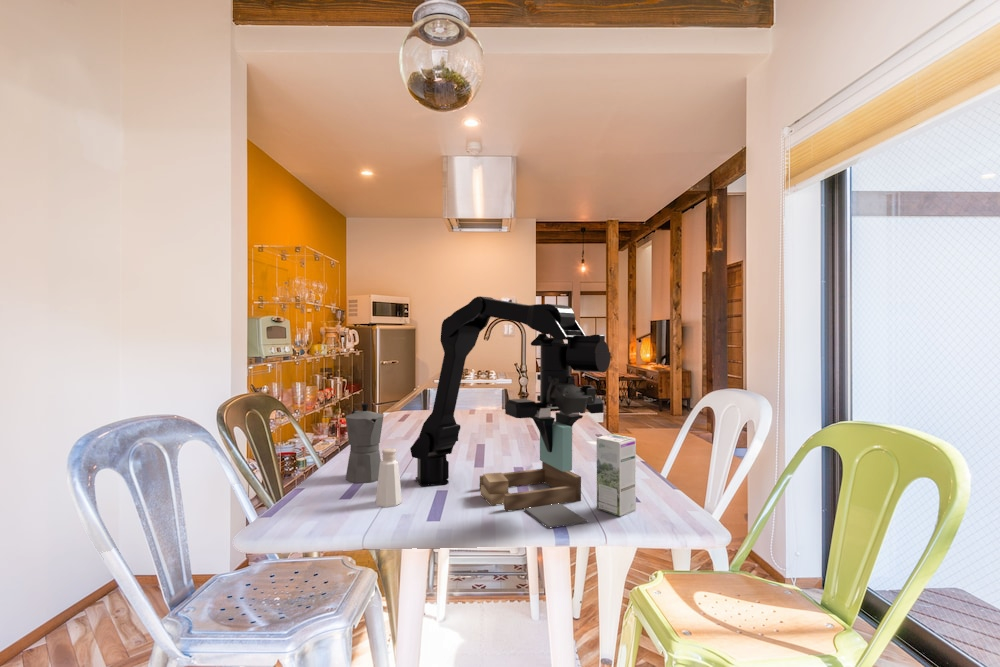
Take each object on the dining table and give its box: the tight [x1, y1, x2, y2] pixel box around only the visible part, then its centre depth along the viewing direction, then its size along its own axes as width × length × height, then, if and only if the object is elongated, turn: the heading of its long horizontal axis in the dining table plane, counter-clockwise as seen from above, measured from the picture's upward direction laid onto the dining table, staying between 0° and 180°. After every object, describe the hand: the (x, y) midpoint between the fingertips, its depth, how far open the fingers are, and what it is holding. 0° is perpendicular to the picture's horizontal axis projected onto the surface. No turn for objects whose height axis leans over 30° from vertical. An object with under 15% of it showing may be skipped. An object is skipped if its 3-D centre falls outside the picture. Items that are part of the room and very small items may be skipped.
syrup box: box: [596, 433, 637, 517], centre depth 99 cm, size 6×6×14 cm
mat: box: [524, 503, 588, 529], centre depth 95 cm, size 8×10×1 cm
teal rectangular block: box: [539, 420, 573, 472], centre depth 95 cm, size 2×9×8 cm, turn 23°
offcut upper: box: [483, 472, 509, 494], centre depth 105 cm, size 4×6×2 cm, turn 13°
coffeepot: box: [345, 402, 384, 484], centre depth 121 cm, size 15×9×18 cm, turn 35°
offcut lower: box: [480, 485, 511, 506], centre depth 105 cm, size 4×7×2 cm, turn 21°
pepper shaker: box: [375, 447, 403, 508], centre depth 102 cm, size 5×5×11 cm
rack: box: [479, 461, 582, 512], centre depth 108 cm, size 17×15×5 cm
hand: (555, 451), depth 95 cm, fingers closed on teal rectangular block, 2 cm apart
